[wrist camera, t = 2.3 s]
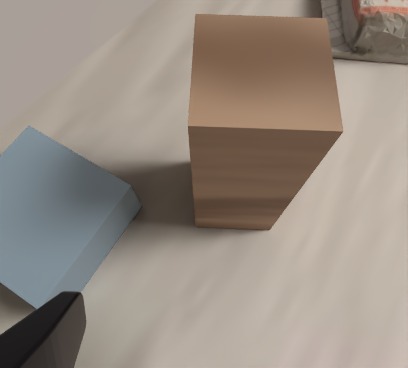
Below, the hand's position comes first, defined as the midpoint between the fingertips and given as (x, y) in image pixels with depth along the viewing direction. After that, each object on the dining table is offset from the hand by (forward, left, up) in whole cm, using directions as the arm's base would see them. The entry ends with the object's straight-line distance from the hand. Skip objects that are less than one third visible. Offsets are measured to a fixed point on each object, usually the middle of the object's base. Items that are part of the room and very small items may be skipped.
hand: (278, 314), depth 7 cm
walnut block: (+4, -7, -14) cm, 16 cm away
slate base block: (+13, +2, -14) cm, 19 cm away
